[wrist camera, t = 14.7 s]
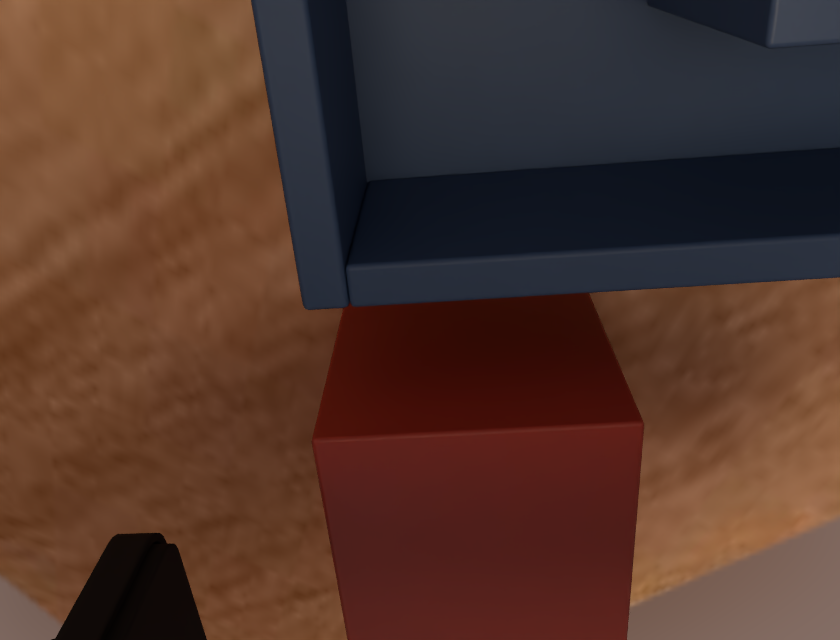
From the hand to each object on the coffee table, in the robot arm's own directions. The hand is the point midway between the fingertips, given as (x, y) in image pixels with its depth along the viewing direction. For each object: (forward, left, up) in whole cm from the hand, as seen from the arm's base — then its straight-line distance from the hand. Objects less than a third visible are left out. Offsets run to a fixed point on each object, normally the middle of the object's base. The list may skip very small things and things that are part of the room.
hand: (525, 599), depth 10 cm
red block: (-1, 0, -5) cm, 5 cm away
